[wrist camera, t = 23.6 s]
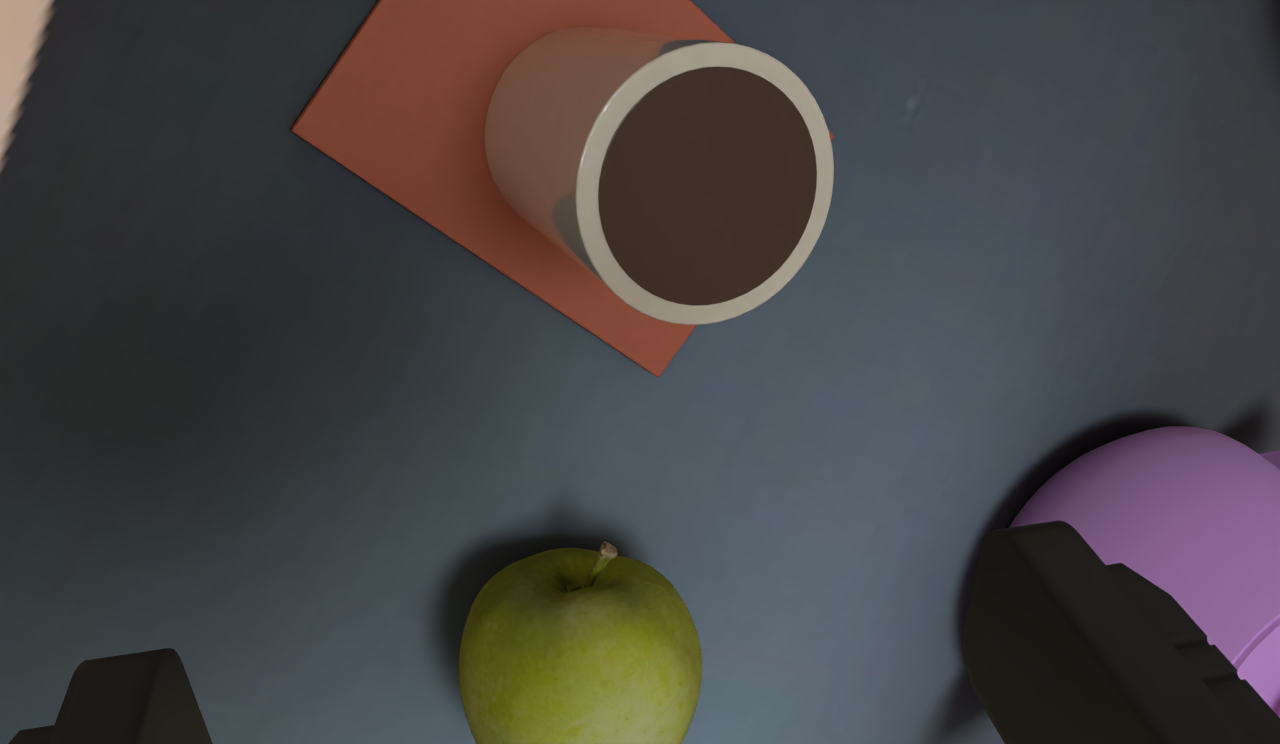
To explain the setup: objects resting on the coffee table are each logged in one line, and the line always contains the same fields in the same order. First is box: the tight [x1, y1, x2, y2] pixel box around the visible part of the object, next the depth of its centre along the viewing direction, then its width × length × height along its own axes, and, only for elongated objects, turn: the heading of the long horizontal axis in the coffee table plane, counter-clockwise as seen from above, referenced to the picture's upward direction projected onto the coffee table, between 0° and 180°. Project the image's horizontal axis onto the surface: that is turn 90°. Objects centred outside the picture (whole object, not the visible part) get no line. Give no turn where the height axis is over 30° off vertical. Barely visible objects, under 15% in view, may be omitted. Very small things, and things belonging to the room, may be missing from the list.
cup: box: [485, 25, 834, 325], centre depth 27 cm, size 6×6×9 cm
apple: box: [458, 542, 702, 744], centre depth 33 cm, size 8×9×8 cm
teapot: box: [1009, 426, 1280, 718], centre depth 42 cm, size 22×16×12 cm
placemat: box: [292, 0, 834, 377], centre depth 31 cm, size 14×10×1 cm
